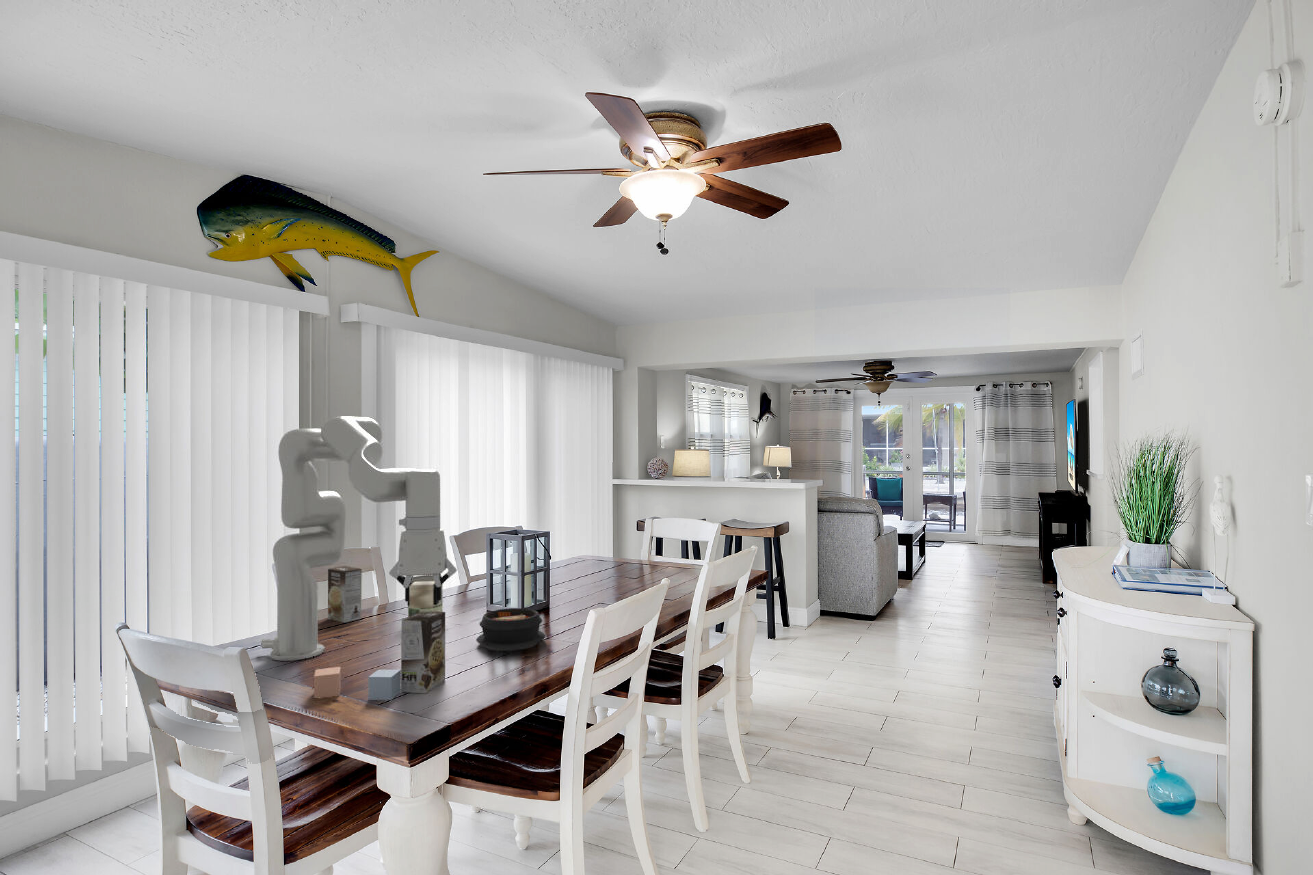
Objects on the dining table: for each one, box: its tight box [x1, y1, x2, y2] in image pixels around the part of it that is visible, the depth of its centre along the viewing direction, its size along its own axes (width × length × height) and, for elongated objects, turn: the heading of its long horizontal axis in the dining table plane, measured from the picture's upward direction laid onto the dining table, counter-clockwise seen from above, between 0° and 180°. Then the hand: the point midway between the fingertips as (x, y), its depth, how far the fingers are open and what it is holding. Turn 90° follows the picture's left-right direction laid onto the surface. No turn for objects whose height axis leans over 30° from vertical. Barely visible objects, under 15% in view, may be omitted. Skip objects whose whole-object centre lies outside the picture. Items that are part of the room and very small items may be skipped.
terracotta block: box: [313, 666, 341, 699], centre depth 155 cm, size 5×5×5 cm
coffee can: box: [407, 575, 444, 617], centre depth 216 cm, size 10×10×14 cm
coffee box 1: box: [327, 565, 363, 623], centre depth 223 cm, size 9×6×16 cm
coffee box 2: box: [400, 611, 446, 695], centre depth 160 cm, size 9×6×16 cm
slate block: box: [368, 669, 401, 701], centre depth 154 cm, size 5×5×5 cm
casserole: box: [475, 607, 546, 652], centre depth 193 cm, size 25×19×8 cm
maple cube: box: [409, 581, 435, 608], centre depth 160 cm, size 5×5×5 cm
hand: (423, 603), depth 160 cm, fingers closed on maple cube, 5 cm apart
